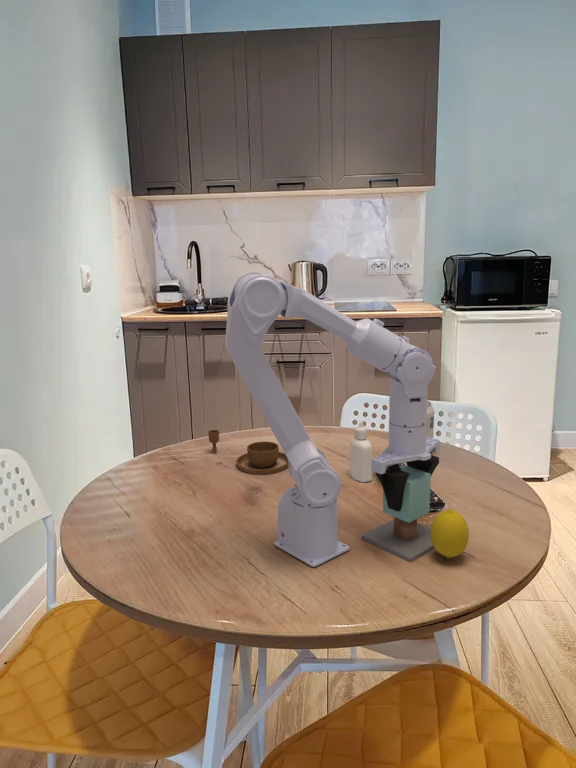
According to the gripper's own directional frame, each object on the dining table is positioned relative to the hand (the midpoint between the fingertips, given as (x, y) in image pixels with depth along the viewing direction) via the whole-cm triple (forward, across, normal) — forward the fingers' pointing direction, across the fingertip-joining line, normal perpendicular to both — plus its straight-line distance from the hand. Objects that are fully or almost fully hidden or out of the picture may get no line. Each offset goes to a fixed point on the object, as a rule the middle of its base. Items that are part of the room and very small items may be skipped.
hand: (405, 503), depth 93 cm
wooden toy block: (+6, 0, 0) cm, 6 cm away
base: (+6, 0, 0) cm, 6 cm away
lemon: (+6, 0, -8) cm, 10 cm away
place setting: (+7, +5, +46) cm, 47 cm away
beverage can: (+6, +34, +24) cm, 42 cm away
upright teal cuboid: (+2, 0, 0) cm, 2 cm away
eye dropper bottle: (+6, +14, +22) cm, 27 cm away
